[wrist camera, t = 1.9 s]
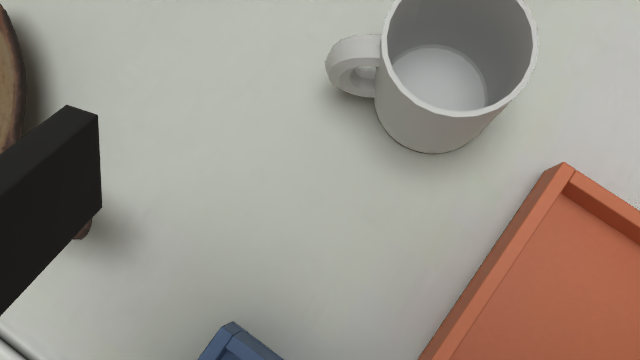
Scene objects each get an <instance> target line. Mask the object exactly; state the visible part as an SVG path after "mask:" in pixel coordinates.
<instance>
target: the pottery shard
mask: <svg viewBox="0 0 640 360" xmlns="http://www.w3.org/2000/svg"><path fill="white" fill-rule="evenodd" d="M25 104H26V76H25V67H24V62H23V57H22V53H21V49H20V46H19V42H18V39H17V36H16V33H15V30H14V28H13V26H12V23H11V20H10V18H9V16H8V14H7V12H6V10H5V9H4V8H3V6H2V5H1V4H0V154H1V153H3V152H4V151H5V150H7V149H8V148H9V147H11V146H12V145H13V144H15V143H16V142H17V141H19V140H20V139H21V138H22V128H23V120H24V113H25ZM91 223H92V219H91V220H90V221H89V222H88V223H87V224H86V225H85V226H84V227H83V228H82V229H81V230H80V231H79V232H78V234H77V235H76V236H75V237H74V238H73V239H78V240H79V239H80V240H81V239H83V238H84V237H85V236H86V235H87V234H88V232H89V230H90V227H91Z"/></svg>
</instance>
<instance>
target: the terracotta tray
mask: <svg viewBox="0 0 640 360" xmlns="http://www.w3.org/2000/svg"><path fill="white" fill-rule="evenodd" d="M418 360H640V211H639V210H637V209H636V208H634V207H633V206H631V205H629V204H628V203H626V202H625V201H623V200H622V199H620V198H619V197H617V196H616V195H614V194H613V193H611V192H609V191H608V190H606V189H605V188H603V187H602V186H600V185H599V184H597V183H596V182H594V181H593V180H591V179H589V178H588V177H586V176H585V175H583V174H582V173H580V172H579V171H577V170H576V171H575V169H574V168H573V167H571V166H570V165H568V164H567V163H565V162H562V163H560V164H558V165H556V166H554V167H552V168H550V169H548V170H546V171H544V173H543V174H542V176H541V177H540V178H539V180H538V181H537V183H536V184H535V186H534V187H533V189H532V190H531V192H530V193H529V195H528V196H527V198H526V199H525V201H524V202H523V204H522V205H521V207H520V208H519V210H518V211H517V213H516V214H515V216H514V217H513V219H512V220H511V222H510V223H509V225H508V226H507V228H506V229H505V231H504V232H503V234H502V235H501V237H500V238H499V240H498V241H497V243H496V244H495V245H494V247H493V248H492V250H491V251H490V253H489V254H488V256H487V257H486V259H485V260H484V262H483V263H482V265H481V266H480V268H479V269H478V271H477V272H476V274H475V275H474V277H473V278H472V280H471V281H470V283H469V284H468V286H467V287H466V289H465V290H464V292H463V293H462V295H461V296H460V298H459V299H458V301H457V302H456V304H455V305H454V307H453V308H452V310H451V311H450V313H449V314H448V315H447V317H446V318H445V320H444V321H443V323H442V324H441V326H440V327H439V329H438V330H437V332H436V333H435V335H434V336H433V338H432V339H431V341H430V342H429V344H428V345H427V347H426V348H425V350H424V351H423V353H422V354H421V356H420V357H419V359H418Z"/></svg>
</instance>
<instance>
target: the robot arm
mask: <svg viewBox="0 0 640 360" xmlns="http://www.w3.org/2000/svg"><path fill="white" fill-rule="evenodd" d="M101 208H102V193H101V172H100V150H99V129H98V115H96V114H93V113H90V112H87V111H84V110H81V109H78V108H75V107H72V106H69V105H66V106H64V107H63V108H62V109H60V110H59V111H58V112H56V113H55V114H54V115H52V116H51V117H50V118H48V119H47V120H46V121H44V122H43V123H42V124H40V125H39V126H37V127H36V128H35V129H33V130H32V131H31V132H29V133H28V134H27V135H25V136H24V137H23V138H21V139H20V140H19V141H17V142H16V143H15V144H13V145H12V146H11V147H9V148H8V149H7V150H5V151H4V152H3V153H1V154H0V316H1V315H2V314H3V313H4V312H5V311H6V309H7V308H8V307H9V306H10V305H11V304H12V303H13V302H14V301H15V300H16V299H17V298H18V297H19V296H20V294H21V293H22V292H23V291H24V290H25V289H26V288H27V287H28V286H29V285H30V284H31V283H32V282H33V281H34V280H35V278H36V277H37V276H38V275H39V274H40V273H41V272H42V271H43V270H44V269H45V268H46V267H47V266H48V265H49V263H50V262H51V261H52V260H53V259H54V258H55V257H56V256H57V255H58V254H59V253H60V252H61V251H62V250H63V249H64V247H65V246H66V245H67V244H68V243H69V242H70V241H71V240H72V239H73V238H74V237H75V236H76V235H77V234H78V232H79V231H80V230H81V229H82V228H83V227H84V226H85V225H86V224H87V223H88V222H89V221H90V220H91V219H92V218H93V216H94V215H95V214H96V213H97V212H98V211H99V210H100V209H101Z"/></svg>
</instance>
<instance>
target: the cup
mask: <svg viewBox="0 0 640 360" xmlns="http://www.w3.org/2000/svg"><path fill="white" fill-rule="evenodd" d="M538 49H539V42H538V33H537V26H536V24H535V21H534V19H533V16H532V14H531V11H530V9H529V8H528V6H527V5H526V4H525V2H524V1H523V0H394V2H393V4H392V6H391V8H390V10H389V12H388V13H387V15H386V17H385V21H384V26H383V30H382V35H372V34H369V35H356V36H351V37H348V38H345V39H341V40H340V41H339V42H337V43H336V44H335V45H333V47H332V49H331V51H330V53H329V54H328V56H327V59H326V61H325V67H326V71H327V74H328V77H329V79H330V81H331V82H332V84H333V85H334V86H336V87H337V88H339V89H340V90H343V91H345V92H348V93H351V94H353V95H357V96H362V97H371V98H374V101H375V109H376V112H377V115H378V118H379V121H380V122H381V124H382V125H383V127H384V128H385V130H386V131H387V133H388V134H389V135H390V136H392V137H393V138H394V139H395V140H396V141H397V142H398V143H400V144H402V145H404V146H406V147H408V148H410V149H412V150H414V151H419V152H424V153H428V154H431V153H446V152H449V151H452V150H455V149H458V148H460V147H462V146H463V145H465V144H467V143H468V142H470V141H471V140H473V139H474V138H476V137H477V136H478V135H479V134H480V133H481V132H482V130H483V129H484V128H485V127H486V126H487V125H488V124H489V123H490V122H491V121H492V120H493V119H494V118H495V117H496V116H497V115H498V114H499V113H500V112H501V111H502V110H503V109H504V108H505V107H506V106H507V105H508V104H509V103H510V102H511V101H512V100H513V99H514V98H515V96H516V95H517V94H518V93H519V92H520V91H521V90H522V89H523V88H524V86H525V85H526V84H527V83H528V80H529V78H530V76H531V74H532V72H533V70H534V68H535V66H536V61H537V55H538ZM362 66H375V67H377V69H376V70H366V69H361V68H358V67H362Z"/></svg>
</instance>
